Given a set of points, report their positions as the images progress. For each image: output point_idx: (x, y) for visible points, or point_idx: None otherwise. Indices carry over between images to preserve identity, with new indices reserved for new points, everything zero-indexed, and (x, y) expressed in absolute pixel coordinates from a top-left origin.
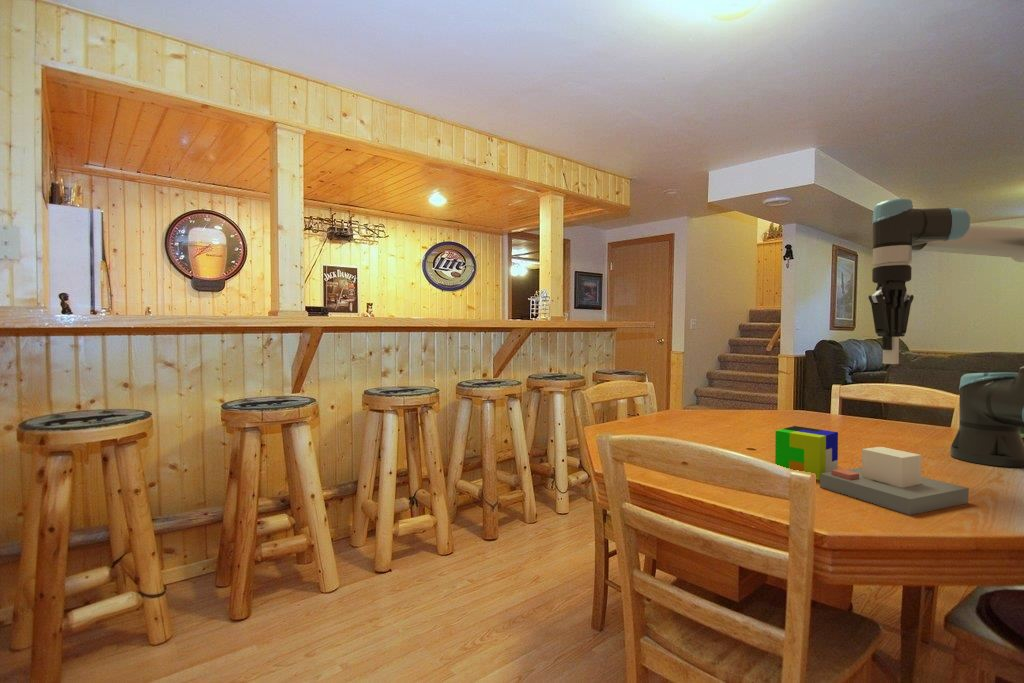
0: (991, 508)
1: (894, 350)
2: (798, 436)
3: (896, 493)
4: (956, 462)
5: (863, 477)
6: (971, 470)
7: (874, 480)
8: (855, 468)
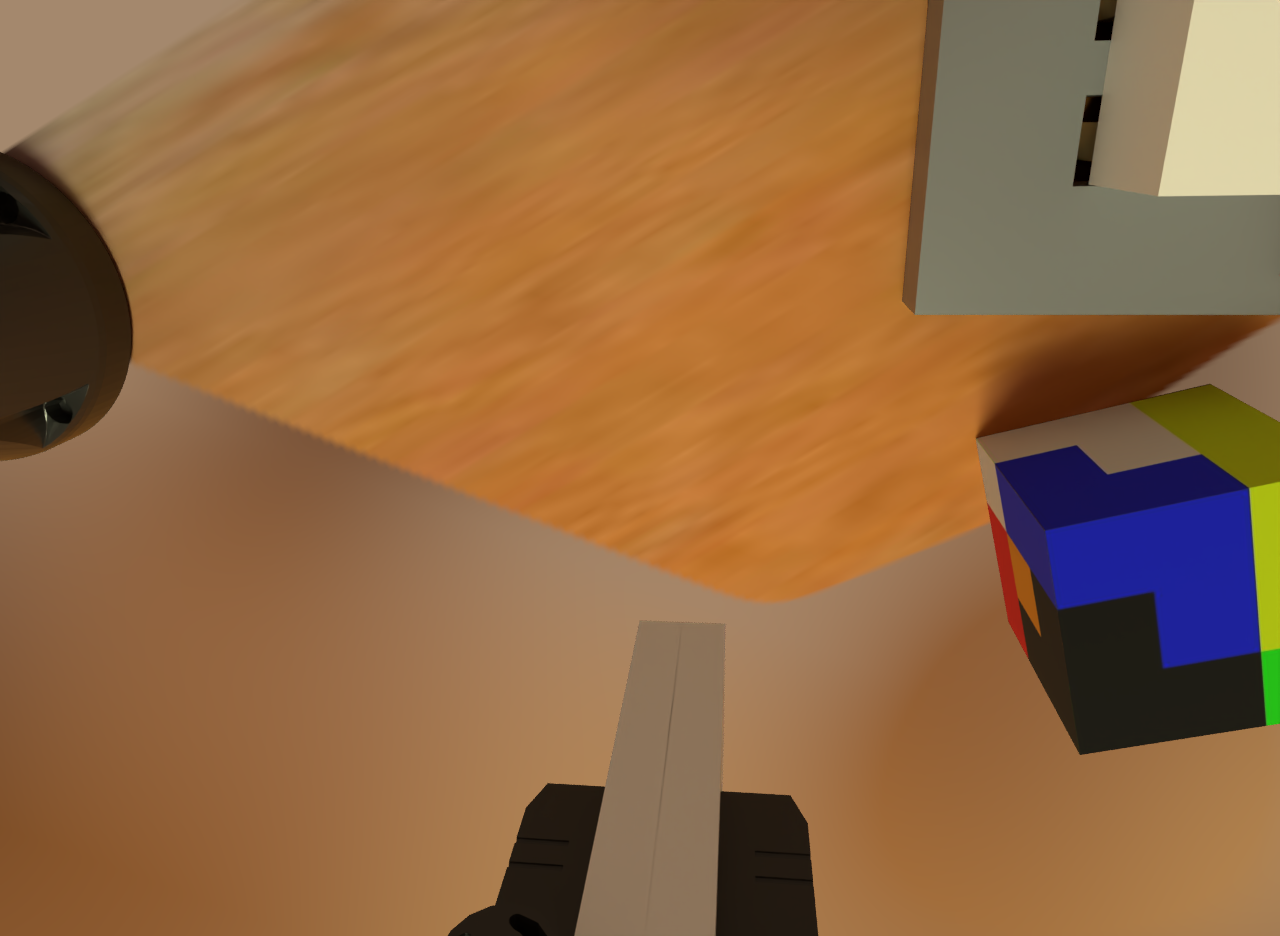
0: None
1: (718, 751)
2: None
3: None
4: (193, 334)
5: None
6: (275, 207)
7: None
8: (1091, 313)
